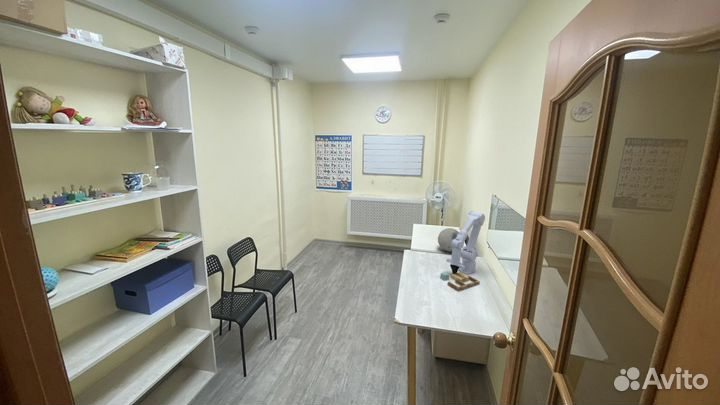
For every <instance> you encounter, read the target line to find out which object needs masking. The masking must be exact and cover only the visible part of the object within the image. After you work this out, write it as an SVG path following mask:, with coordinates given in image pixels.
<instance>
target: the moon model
mask: <svg viewBox="0 0 720 405" xmlns="http://www.w3.org/2000/svg"><path fill="white" fill-rule="evenodd" d="M459 232H460V231H458V230H457V229H455V228H449V227H447V228H444V229H442V230H441V231H440V232H439V234H438V236H437V243H438V245H439V247H440V248H441V250H444V251H445V252H448V253H452V246H451V242H452V240H454V239H455V238H456V237H457V235H458V234H459Z"/></svg>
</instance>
